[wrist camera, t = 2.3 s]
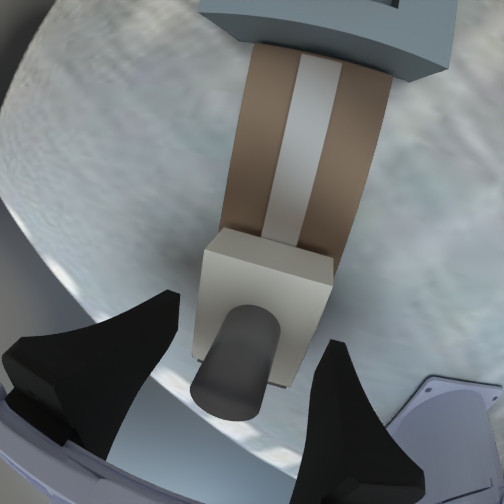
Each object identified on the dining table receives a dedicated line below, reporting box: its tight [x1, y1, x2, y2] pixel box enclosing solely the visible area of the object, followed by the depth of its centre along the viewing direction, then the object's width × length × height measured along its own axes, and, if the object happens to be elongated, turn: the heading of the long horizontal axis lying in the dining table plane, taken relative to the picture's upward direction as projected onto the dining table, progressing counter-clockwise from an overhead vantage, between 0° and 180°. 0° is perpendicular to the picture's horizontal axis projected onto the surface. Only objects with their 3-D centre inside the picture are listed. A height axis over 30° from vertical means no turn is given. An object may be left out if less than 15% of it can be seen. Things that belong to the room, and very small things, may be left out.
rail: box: [197, 43, 393, 389], centre depth 14 cm, size 16×6×3 cm, turn 169°
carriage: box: [190, 227, 333, 421], centre depth 12 cm, size 6×5×6 cm
